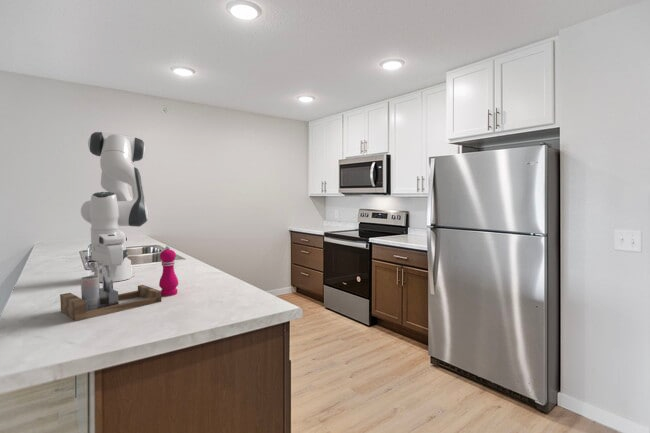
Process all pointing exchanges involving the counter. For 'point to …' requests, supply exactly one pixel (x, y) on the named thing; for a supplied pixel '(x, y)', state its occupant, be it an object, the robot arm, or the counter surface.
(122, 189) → the robot arm
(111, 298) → the press jaw
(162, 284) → the pepper mill
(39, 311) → the counter surface
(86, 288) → the energy drink
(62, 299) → the press frame
